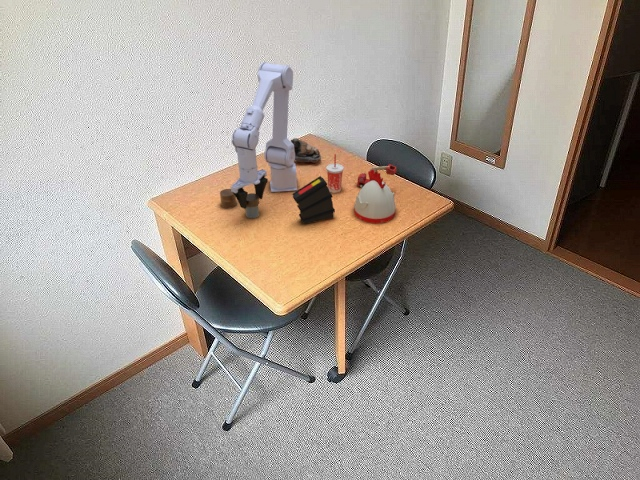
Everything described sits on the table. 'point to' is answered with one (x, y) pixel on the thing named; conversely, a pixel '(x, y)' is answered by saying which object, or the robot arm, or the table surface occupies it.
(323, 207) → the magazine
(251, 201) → the walnut chip
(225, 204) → the oak chip bottom
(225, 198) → the disc
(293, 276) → the table surface
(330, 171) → the beverage cup
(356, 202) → the kitchen timer
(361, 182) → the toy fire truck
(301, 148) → the bison figurine
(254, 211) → the plastic cup
